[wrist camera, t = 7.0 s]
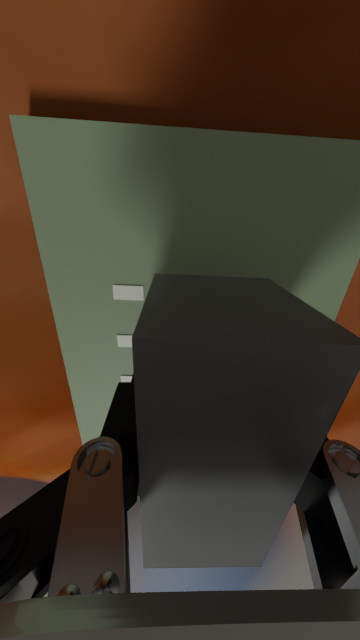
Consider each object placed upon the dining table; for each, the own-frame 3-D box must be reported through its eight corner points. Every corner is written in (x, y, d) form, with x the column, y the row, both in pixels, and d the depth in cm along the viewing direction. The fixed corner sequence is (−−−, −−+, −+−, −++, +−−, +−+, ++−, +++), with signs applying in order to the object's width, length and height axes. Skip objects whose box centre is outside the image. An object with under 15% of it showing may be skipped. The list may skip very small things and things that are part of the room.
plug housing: (154, 273, 8) (131, 337, 4) (268, 278, 9) (372, 345, 4) (154, 443, 13) (143, 568, 8) (230, 444, 13) (260, 566, 8)
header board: (27, 126, 9) (-117, 38, 5) (380, 151, 10) (558, 96, 5) (88, 434, 18) (59, 511, 13) (276, 436, 19) (310, 510, 14)
